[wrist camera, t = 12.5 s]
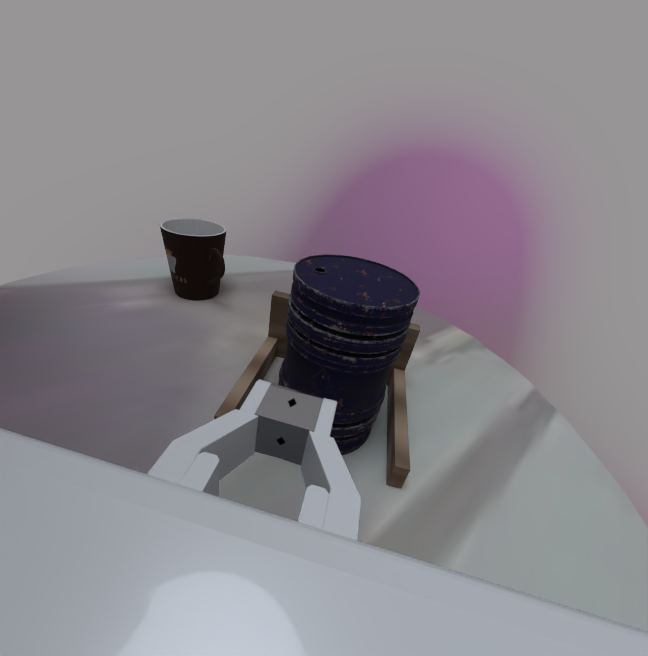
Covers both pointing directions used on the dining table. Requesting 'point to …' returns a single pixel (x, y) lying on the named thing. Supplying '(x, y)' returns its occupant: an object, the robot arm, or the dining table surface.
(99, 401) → the dining table surface
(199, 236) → the coffee mug
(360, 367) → the dark blue cylinder
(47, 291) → the dining table surface
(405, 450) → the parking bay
